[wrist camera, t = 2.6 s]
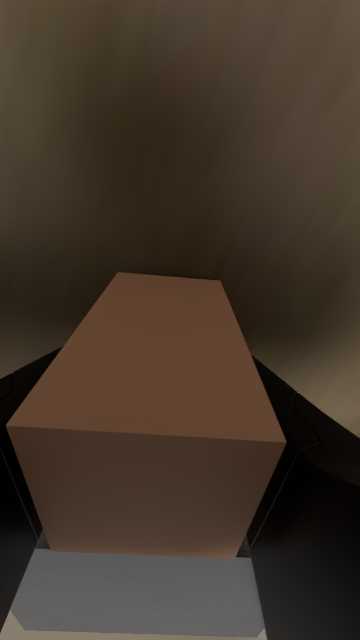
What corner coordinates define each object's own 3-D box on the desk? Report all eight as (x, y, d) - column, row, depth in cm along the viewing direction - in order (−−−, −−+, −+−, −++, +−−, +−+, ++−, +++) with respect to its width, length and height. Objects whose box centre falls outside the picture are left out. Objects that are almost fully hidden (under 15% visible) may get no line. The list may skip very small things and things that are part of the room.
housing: (80, 472, 16) (24, 630, 11) (63, 380, 13) (-37, 545, 7) (230, 480, 17) (256, 637, 11) (258, 393, 13) (320, 561, 7)
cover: (124, 466, 16) (87, 650, 9) (117, 272, 10) (5, 425, 3) (188, 469, 16) (192, 653, 10) (220, 280, 10) (286, 442, 4)
